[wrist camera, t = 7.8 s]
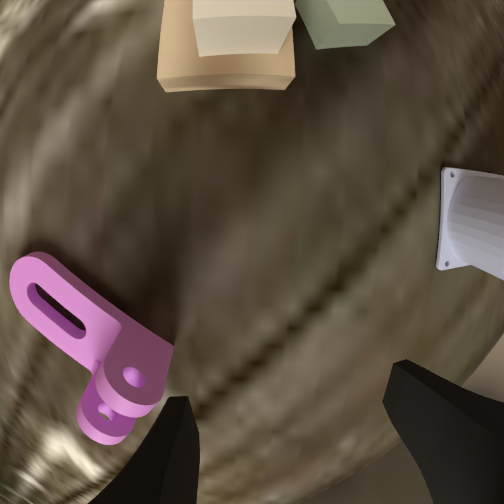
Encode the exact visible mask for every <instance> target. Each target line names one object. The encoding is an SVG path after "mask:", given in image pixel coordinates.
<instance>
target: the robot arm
mask: <svg viewBox="0 0 504 504" xmlns="http://www.w3.org/2000/svg"><path fill="white" fill-rule="evenodd" d="M445 263H446V264H445ZM467 265H473V266H475V267H477V268H479V269H481V270H484V271H486V272H488V273H490V274H492V275H494V276H496V277H498V278H500V279H502V280H504V176H503V175H497V174H491V173H485V172H479V171H472V170H465V169H458V168H450V167H444V168H443V169H442V172H441V217H440V233H439V244H438V254H437V262H436V267H437V268H438V269H439V270H446V269H451V268H456V267H461V266H467ZM382 402H383V404H384V407H385V409H386V411H387V414H388V416H389V418H390V420H391V422H392V424H393V426H394V427H395V429H396V431H397V432H398V434H399V435H400V437H401V439H402V440H403V442H404V443H405V445H406V447H407V448H408V450H409V451H410V453H411V455H412V456H413V458H414V459H415V461H416V463H417V464H418V466H419V468H420V470H421V472H422V475H423V477H424V479H425V481H426V484H427V486H428V489H429V492H430V495H431V497H432V500H433V503H434V504H504V402H499V401H496V400H493V399H490V398H487V397H484V396H481V395H478V394H476V393H474V392H471V391H469V390H467V389H464V388H462V387H460V386H458V385H456V384H454V383H452V382H450V381H448V380H446V379H444V378H442V377H440V376H438V375H436V374H434V373H432V372H431V371H429V370H427V369H425V368H423V367H421V366H419V365H417V364H415V363H413V362H411V361H409V360H407V359H406V360H402V361H399V362H396V363H393V366H392V370H391V374H390V378H389V381H388V385H387V388H386V392H385V395H384V398H383V401H382ZM199 464H200V443H199V431H198V428H197V425H196V422H195V418H194V415H193V412H192V408H191V405H190V401H189V398H188V396H177V397H169V398H168V399H167V401H166V403H165V405H164V407H163V408H162V410H161V412H160V414H159V416H158V417H157V419H156V421H155V423H154V424H153V426H152V428H151V429H150V431H149V432H148V434H147V435H146V437H145V438H144V440H143V442H142V443H141V445H140V446H139V447H138V449H137V450H136V452H135V453H134V454H133V456H132V457H131V458H130V460H129V461H128V462H127V464H126V465H125V466H124V467H123V469H122V470H121V471H120V472H119V473H118V474H117V476H116V477H115V478H114V479H113V480H112V481H111V482H110V483H109V484H108V485H107V486H106V487H105V488H104V489H103V490H102V491H101V492H100V493H99V494H98V495H97V496H96V497H95V498H94V499H92V500H91V501H90V502H89V503H88V504H196V501H197V488H198V476H199Z"/></svg>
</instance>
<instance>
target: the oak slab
mask: <svg viewBox="0 0 504 504" xmlns="http://www.w3.org/2000/svg"><path fill="white" fill-rule="evenodd" d="M294 77H295V62H294V46H293V31H292V27H291V29H290V31H289V32H288V34H287V36H286V38H285V40H284V42H283V44H282V46H281V48H280V50H279V52H278V54H228V55H213V56H202V57H199V52H198V47H197V41H196V36H195V30H194V25H193V0H165V3H164V10H163V18H162V26H161V35H160V45H159V57H158V70H157V80H158V81H159V83H160V84H161V86H162V87H163V89H164V90H165V92H176V91H188V90H204V89H274V90H285V89H286V88H287V86H288V85H289V84H290V83H291V81H292V80H293V79H294Z"/></svg>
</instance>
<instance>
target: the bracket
mask: <svg viewBox="0 0 504 504" xmlns="http://www.w3.org/2000/svg"><path fill="white" fill-rule="evenodd" d="M35 283H36V284H38V285H39V286H40V287H42V288H43V289H44V290H45V291H46V292H47V293H48V294H49V295H51V296H52V297H53V298H54V299H55V300H56V301H58V302H59V303H60V304H61V305H62V306H64V307H65V308H66V309H67V310H69V311H70V312H71V313H72V314H74V315H75V316H76V317H77V318H79V319H80V320H81V321H82V322H83V323H84V325H85V327H86V331H85V330H81V329H79V328H78V327H76V326H75V325H74V324H72V323H71V322H70V321H69V320H67V319H66V318H65V317H64V316H62V315H61V314H60V313H59V312H58V311H56V310H55V309H54V308H53V307H52V306H50V305H49V304H48V303H47V302H46V301H45V300H44V299H42V298H41V297H40V296H39V294H38V293H37V290H36V286H35ZM10 291H11V295H12V298H13V300H14V303H15V305H16V307H17V309H18V310H19V312H20V313H21V314H22V316H23V317H24V318H25V319H26V320H27V321H28V322H29V323H30V324H31V325H33V326H34V327H35V328H36V329H37V330H38V331H40V332H41V333H42V334H43V335H44V336H45V337H47V338H48V339H49V340H50V341H52V342H53V343H54V344H55V345H57V346H58V347H59V348H60V349H62V350H63V351H64V352H66V353H67V354H68V355H69V356H71V357H72V358H74V359H75V360H76V361H78V362H79V363H80V364H82V365H83V366H85V367H86V368H88V369H89V370H90V371H91V373H92V378H91V380H90V382H89V384H88V386H87V388H86V390H85V392H84V394H83V395H82V397H81V399H80V401H79V403H78V406H77V408H76V418H77V422H78V424H79V426H80V427H81V429H82V430H83V432H84V433H85V434H86V435H87V436H89V437H90V438H91V439H93V440H94V441H96V442H99V443H101V444H106V445H113V444H117V443H119V442H121V441H122V440H123V439H124V438H125V437H126V436H127V435H128V434H129V433H130V432H131V430H132V429H133V426H134V422H135V419H136V417H142V416H144V415H146V414H147V413H148V412H149V411H150V410H151V409H152V408H153V407H154V406H155V405H156V404H157V403H158V402H159V401H160V399H161V398H162V396H163V392H164V388H165V383H166V378H167V373H168V369H169V364H170V360H171V356H172V351H173V347H174V346H173V345H172V344H170V343H168V342H167V341H165V340H164V339H162V338H160V337H159V336H157V335H156V334H154V333H153V332H151V331H150V330H148V329H147V328H145V327H144V326H142V325H141V324H139V323H138V322H136V321H135V320H134V319H132V318H131V317H129V316H128V315H126V314H125V313H124V312H122V311H121V310H119V309H118V308H117V307H115V306H114V305H113V304H111V303H110V302H108V301H107V300H106V299H104V298H103V297H102V296H101V295H99V294H98V293H97V292H95V291H94V290H93V289H91V288H90V287H89V286H88V285H86V284H85V283H84V282H83V281H81V280H80V279H79V278H78V277H77V276H75V275H74V274H73V273H72V272H70V271H69V270H68V269H67V268H66V267H65V266H63V265H62V264H61V263H60V262H59V261H58V260H56V259H55V258H54V257H53V256H51V255H49V254H47V253H44V252H32V253H30V254H28V255H26V256H24V257H22V258H20V259H19V260H17V261H16V262H15V264H14V265H13V267H12V269H11V273H10ZM99 412H102V413H104V414H105V415H107V416H108V418H109V419H110V421H108V420H106V419H104V418H103V417H102V416H101V415H100V413H99Z"/></svg>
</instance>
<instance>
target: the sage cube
mask: <svg viewBox="0 0 504 504" xmlns="http://www.w3.org/2000/svg"><path fill="white" fill-rule="evenodd" d="M295 6H296V8H297V9H298V11H299V13H300V15H301V18H302V20H303V22H304V24H305V26H306V28H307V30H308V32H309V34H310V37H311V39H312V41H313V43H314V46H315V48H316V50H317V49H326V48H336V47H350V46H367V45H368V44H370V43H371V42H372V41H374V40H375V39H377V38H378V37H379V36H381V35H382V34H383V33H385V32H386V31H388V30H389V29H390V28H392V27H393V26H395V25H396V24H395V23H394V21H393V19H392V17H391V15H390V13H389V11H388V9H387V7H386V6H385V4H384V2H383V0H297V1H296V3H295Z"/></svg>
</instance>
